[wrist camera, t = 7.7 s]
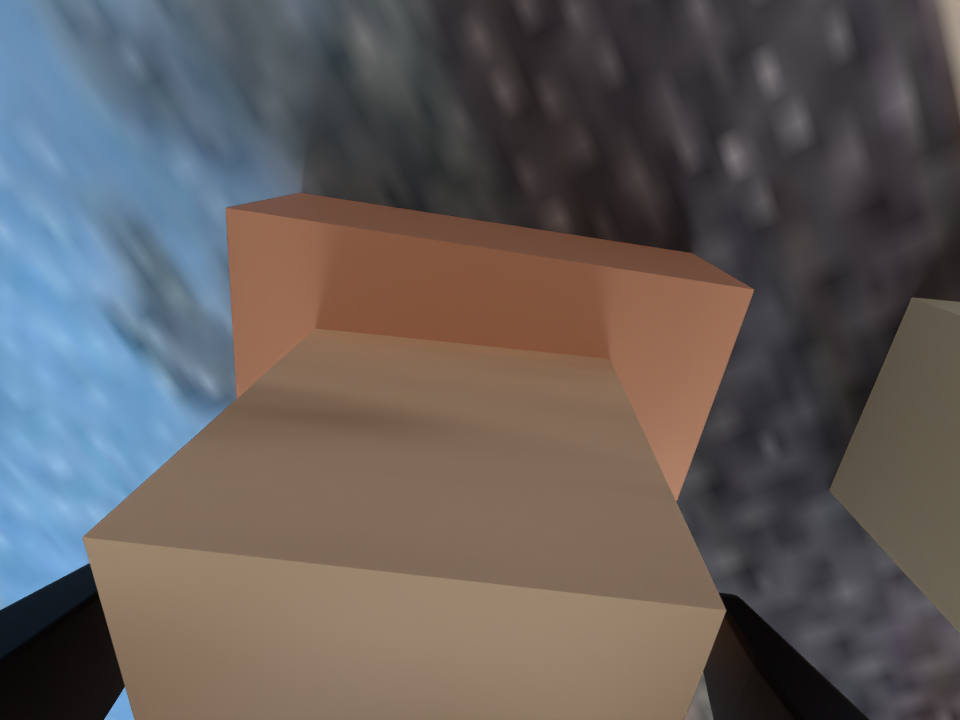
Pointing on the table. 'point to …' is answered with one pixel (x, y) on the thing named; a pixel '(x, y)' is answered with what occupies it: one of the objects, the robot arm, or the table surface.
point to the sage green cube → (913, 454)
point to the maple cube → (410, 548)
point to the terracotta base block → (488, 299)
